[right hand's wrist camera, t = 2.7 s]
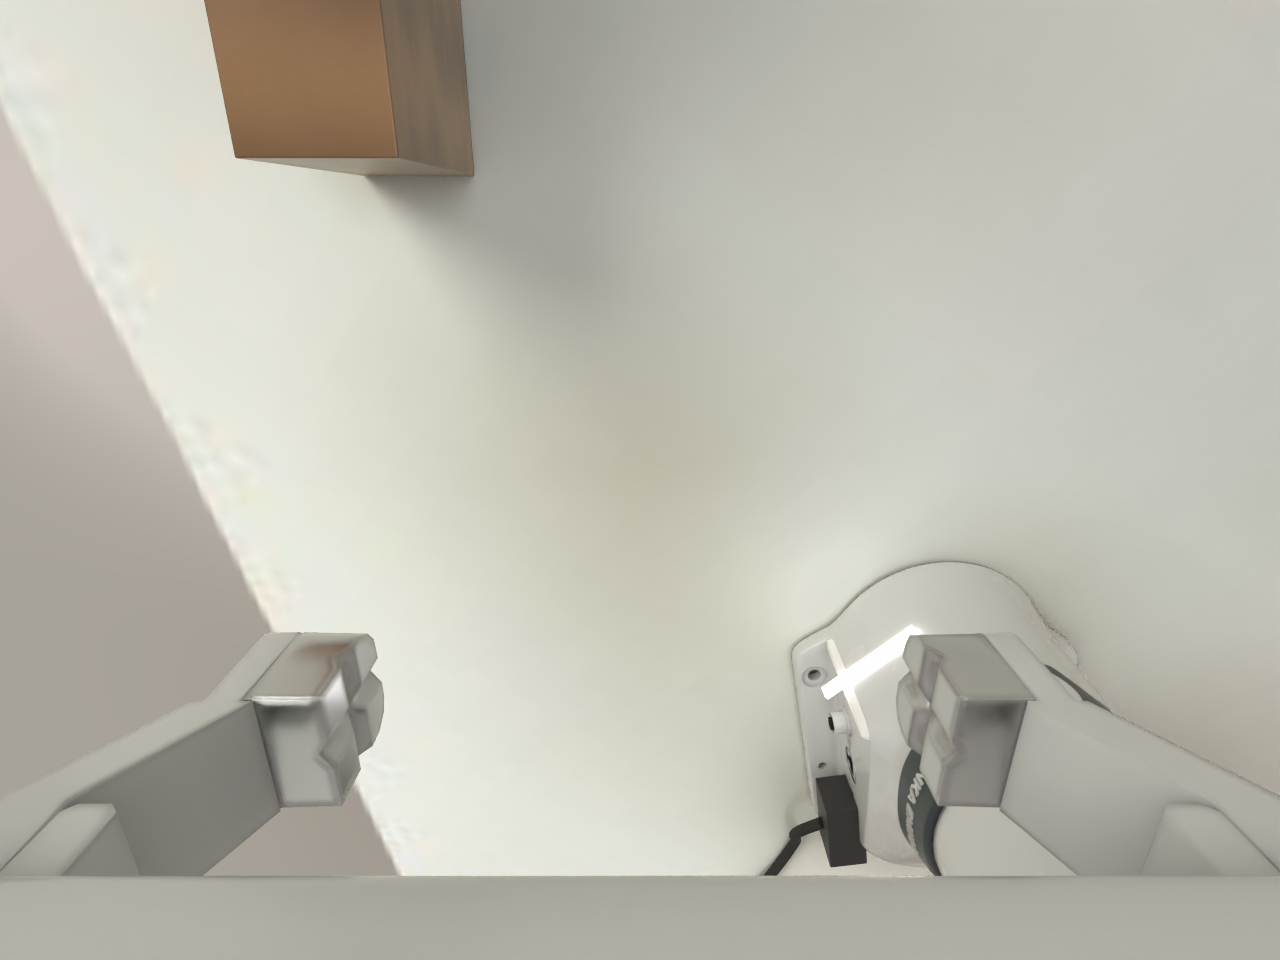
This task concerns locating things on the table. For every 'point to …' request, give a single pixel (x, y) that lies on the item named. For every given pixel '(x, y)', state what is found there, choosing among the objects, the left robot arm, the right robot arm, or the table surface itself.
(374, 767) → the table surface
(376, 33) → the box
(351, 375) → the table surface
